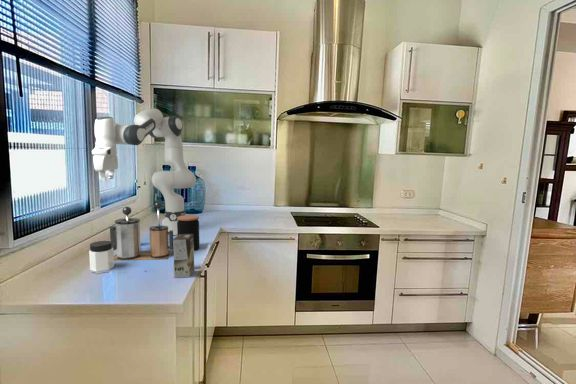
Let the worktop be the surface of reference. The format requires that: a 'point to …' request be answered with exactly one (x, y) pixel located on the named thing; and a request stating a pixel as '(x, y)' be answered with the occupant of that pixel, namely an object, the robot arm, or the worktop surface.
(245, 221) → the worktop surface
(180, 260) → the coffee box
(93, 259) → the jar
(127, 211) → the steel plunger
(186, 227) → the coffee jar
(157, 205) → the ball knob plunger
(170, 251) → the board
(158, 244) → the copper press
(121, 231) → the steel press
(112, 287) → the worktop surface
